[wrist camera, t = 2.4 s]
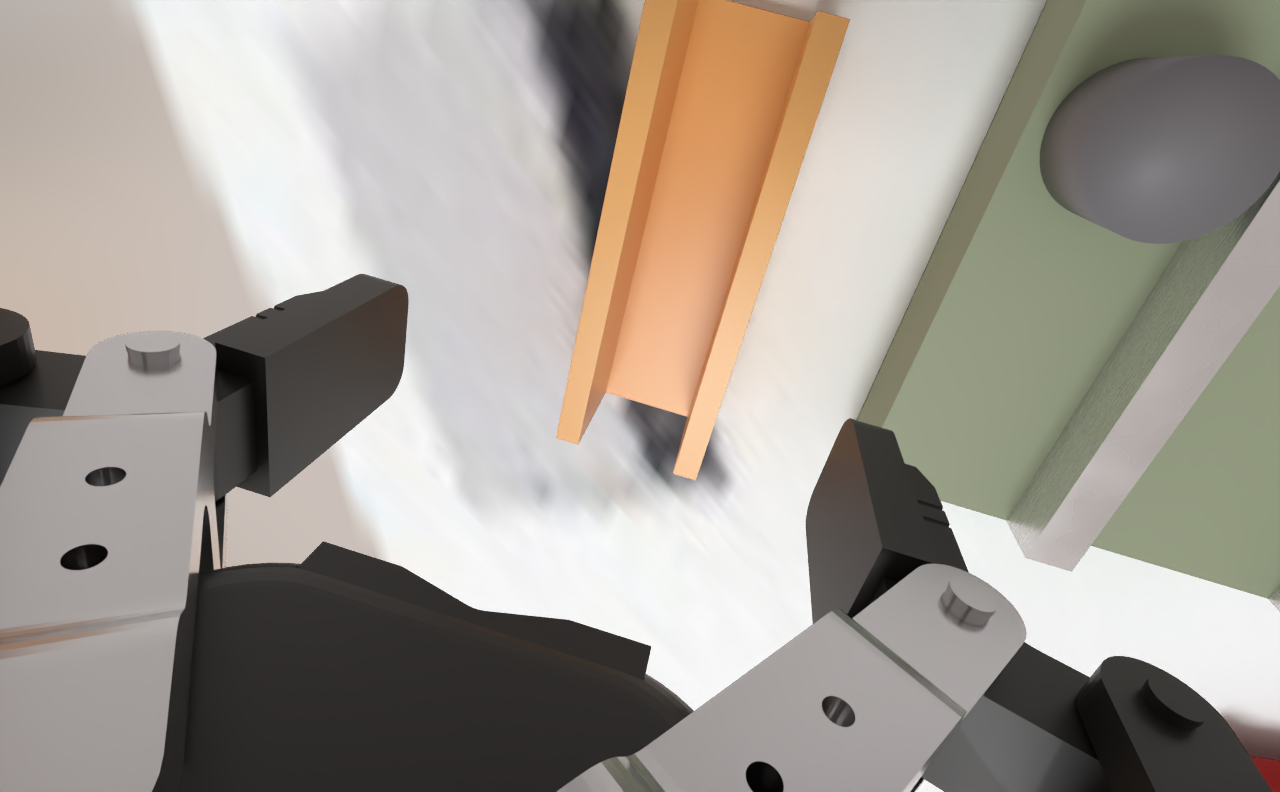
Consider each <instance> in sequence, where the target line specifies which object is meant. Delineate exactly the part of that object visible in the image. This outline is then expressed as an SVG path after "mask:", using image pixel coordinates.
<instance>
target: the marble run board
mask: <svg viewBox="0 0 1280 792" xmlns="http://www.w3.org/2000/svg"><path fill="white" fill-rule="evenodd" d="M1279 172H1280V0H1047V2H1046V5H1045V7H1044V9H1043V11H1042V13H1041V16H1040V18H1039V20H1038V22H1037V25H1036V27H1035V29H1034V31H1033V33H1032V36H1031V38H1030V40H1029V42H1028V44H1027V47H1026V49H1025V51H1024V53H1023V55H1022V58H1021V60H1020V62H1019V64H1018V66H1017V69H1016V71H1015V73H1014V75H1013V77H1012V80H1011V82H1010V84H1009V86H1008V88H1007V91H1006V93H1005V95H1004V97H1003V99H1002V102H1001V104H1000V106H999V108H998V110H997V113H996V115H995V117H994V119H993V121H992V124H991V126H990V128H989V130H988V132H987V135H986V137H985V139H984V141H983V143H982V146H981V148H980V150H979V152H978V154H977V157H976V159H975V161H974V163H973V165H972V168H971V170H970V172H969V174H968V176H967V179H966V181H965V183H964V185H963V187H962V190H961V192H960V194H959V196H958V198H957V201H956V203H955V205H954V207H953V209H952V212H951V214H950V216H949V218H948V220H947V223H946V225H945V227H944V229H943V231H942V234H941V236H940V238H939V240H938V242H937V245H936V247H935V249H934V251H933V253H932V256H931V258H930V260H929V262H928V264H927V267H926V269H925V271H924V273H923V275H922V278H921V280H920V282H919V284H918V286H917V289H916V291H915V293H914V295H913V297H912V300H911V302H910V304H909V306H908V309H907V311H906V313H905V315H904V317H903V320H902V322H901V324H900V326H899V328H898V331H897V333H896V335H895V337H894V339H893V342H892V344H891V346H890V348H889V350H888V353H887V355H886V357H885V359H884V361H883V364H882V366H881V368H880V370H879V372H878V375H877V377H876V379H875V381H874V383H873V386H872V388H871V390H870V392H869V394H868V397H867V399H866V401H865V403H864V405H863V408H862V410H861V412H860V414H859V416H858V419H857V420H858V421H861V422H864V423H868V424H871V425H874V426H878V427H881V428H885V429H888V430H891V431H893V432H894V434H895V437H896V440H897V442H898V445H899V448H900V451H901V454H902V457H903V460H904V463H905V464H908V465H911V466H915V467H917V468H918V470H919V471H920V472H921V473H922V474H923V475H924V476H925V477H926V478H927V479H928V481H929V482H930V483H931V484H932V485H933V486H934V487H935V489H936V491H937V494H938V496H939V499H940V501H944V502H947V503H950V504H954V505H957V506H960V507H964V508H967V509H970V510H974V511H977V512H980V513H984V514H987V515H991V516H994V517H997V518H1001V519H1004V520H1006V519H1007V518H1008V516H1009V515H1010V513H1011V512H1012V510H1013V508H1014V507H1015V505H1016V504H1017V502H1018V500H1019V499H1020V497H1021V496H1022V494H1023V493H1024V491H1025V489H1026V488H1027V486H1028V485H1029V483H1030V482H1031V480H1032V478H1033V477H1034V475H1035V474H1036V472H1037V470H1038V469H1039V467H1040V466H1041V464H1042V463H1043V461H1044V459H1045V458H1046V456H1047V455H1048V453H1049V452H1050V450H1051V448H1052V447H1053V445H1054V444H1055V442H1056V440H1057V439H1058V437H1059V436H1060V434H1061V433H1062V431H1063V429H1064V428H1065V426H1066V425H1067V423H1068V422H1069V420H1070V418H1071V417H1072V415H1073V414H1074V412H1075V411H1076V409H1077V407H1078V406H1079V404H1080V403H1081V401H1082V399H1083V398H1084V396H1085V395H1086V393H1087V392H1088V390H1089V388H1090V387H1091V385H1092V384H1093V382H1094V381H1095V379H1096V377H1097V376H1098V374H1099V373H1100V371H1101V369H1102V368H1103V366H1104V365H1105V363H1106V362H1107V360H1108V358H1109V357H1110V355H1111V354H1112V352H1113V351H1114V349H1115V347H1116V346H1117V344H1118V343H1119V341H1120V339H1121V338H1122V336H1123V335H1124V333H1125V332H1126V330H1127V328H1128V327H1129V325H1130V324H1131V322H1132V321H1133V319H1134V317H1135V316H1136V314H1137V313H1138V311H1139V310H1140V308H1141V306H1142V305H1143V303H1144V302H1145V300H1146V298H1147V297H1148V295H1149V294H1150V292H1151V291H1152V289H1153V287H1154V286H1155V284H1156V283H1157V281H1158V280H1159V278H1160V276H1161V275H1162V273H1163V272H1164V270H1165V268H1166V267H1167V265H1168V264H1169V262H1170V261H1171V259H1172V257H1173V256H1174V254H1175V253H1176V251H1177V250H1178V248H1179V246H1180V245H1181V243H1182V242H1183V241H1186V240H1190V239H1194V238H1197V237H1200V236H1203V235H1205V234H1208V233H1210V232H1212V231H1214V230H1216V229H1219V228H1221V227H1222V226H1224V225H1226V224H1227V223H1229V222H1231V221H1232V220H1234V219H1235V218H1237V217H1238V216H1240V215H1241V214H1242V213H1244V212H1245V211H1246V210H1247V209H1248V208H1250V207H1251V206H1252V205H1253V204H1254V203H1255V202H1256V201H1257V200H1258V199H1259V198H1260V197H1261V196H1262V195H1263V194H1264V193H1265V192H1266V190H1267V189H1268V188H1269V187H1270V185H1271V184H1272V183H1273V181H1274V180H1275V178H1276V177H1277V175H1278V173H1279ZM1091 546H1094V547H1097V548H1101V549H1104V550H1108V551H1111V552H1114V553H1118V554H1121V555H1124V556H1128V557H1131V558H1134V559H1138V560H1141V561H1144V562H1148V563H1151V564H1154V565H1158V566H1161V567H1164V568H1168V569H1171V570H1174V571H1178V572H1181V573H1184V574H1188V575H1191V576H1194V577H1198V578H1201V579H1204V580H1208V581H1211V582H1214V583H1218V584H1221V585H1225V586H1228V587H1231V588H1235V589H1238V590H1241V591H1245V592H1248V593H1251V594H1255V595H1258V596H1261V597H1265V598H1268V597H1269V596H1270V595H1271V594H1272V593H1273V592H1274V591H1275V590H1276V589H1277V588H1278V587H1279V586H1280V286H1279V288H1278V289H1277V290H1276V292H1275V293H1274V295H1273V296H1272V297H1271V299H1270V300H1269V301H1268V303H1267V304H1266V306H1265V307H1264V308H1263V310H1262V311H1261V312H1260V314H1259V315H1258V317H1257V318H1256V319H1255V321H1254V322H1253V323H1252V325H1251V326H1250V328H1249V329H1248V330H1247V332H1246V333H1245V334H1244V336H1243V337H1242V338H1241V340H1240V341H1239V343H1238V344H1237V345H1236V347H1235V348H1234V349H1233V351H1232V352H1231V354H1230V355H1229V356H1228V358H1227V359H1226V360H1225V362H1224V363H1223V365H1222V366H1221V367H1220V369H1219V370H1218V371H1217V373H1216V374H1215V376H1214V377H1213V378H1212V380H1211V381H1210V382H1209V384H1208V385H1207V387H1206V388H1205V389H1204V391H1203V392H1202V393H1201V395H1200V396H1199V397H1198V399H1197V400H1196V402H1195V403H1194V404H1193V406H1192V407H1191V408H1190V410H1189V411H1188V413H1187V414H1186V415H1185V417H1184V418H1183V419H1182V421H1181V422H1180V424H1179V425H1178V426H1177V428H1176V429H1175V430H1174V432H1173V433H1172V435H1171V436H1170V437H1169V439H1168V440H1167V441H1166V443H1165V444H1164V446H1163V447H1162V448H1161V450H1160V451H1159V452H1158V454H1157V455H1156V457H1155V458H1154V459H1153V461H1152V462H1151V463H1150V465H1149V466H1148V467H1147V469H1146V470H1145V472H1144V473H1143V474H1142V476H1141V477H1140V478H1139V480H1138V481H1137V483H1136V484H1135V485H1134V487H1133V488H1132V489H1131V491H1130V492H1129V494H1128V495H1127V496H1126V498H1125V499H1124V500H1123V502H1122V503H1121V505H1120V506H1119V507H1118V509H1117V510H1116V511H1115V513H1114V514H1113V516H1112V517H1111V518H1110V520H1109V521H1108V522H1107V524H1106V525H1105V526H1104V528H1103V529H1102V531H1101V532H1100V533H1099V535H1098V536H1097V537H1096V539H1095V540H1094V542H1093V543H1092V544H1091Z"/></svg>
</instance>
